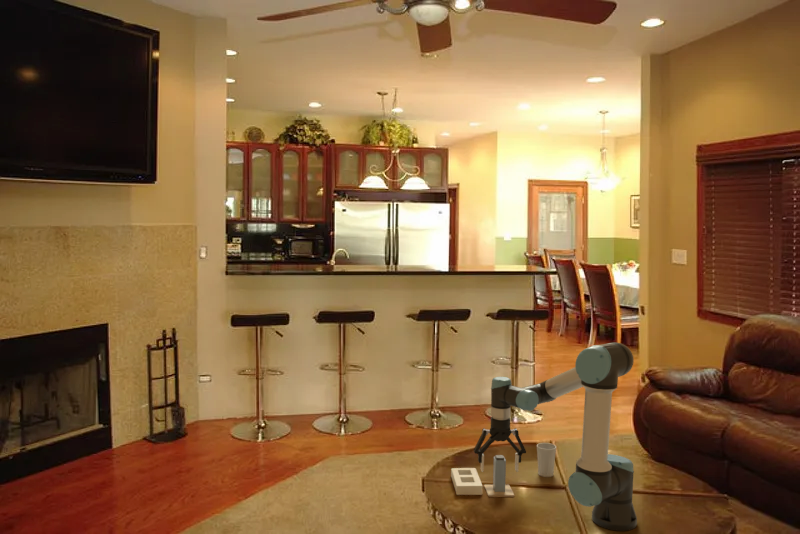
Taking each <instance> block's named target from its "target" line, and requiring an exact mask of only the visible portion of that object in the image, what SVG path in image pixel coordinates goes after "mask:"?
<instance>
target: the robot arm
mask: <svg viewBox="0 0 800 534" xmlns="http://www.w3.org/2000/svg"><path fill="white" fill-rule="evenodd" d="M634 361H635V359H634V355H633V352H632V351H631V349H630V348H629V347H628V346H627V345H625V344H623V343H621V342H609V343H604V344H597V345H596V344H595V345H591V346H588V347H587V348H584V349H583V350H581V351H580V352H579V354H578V355H577V357H576V360H575V365H574V366H575V367H572V368H571V369H568V370H566V371H563V372H561V373H559V374H556V375H555V376H552V377H550V378H549V379H546V380H544V381H541V382H539V383H536V384H531V385H527V386H524V387H520V386H516V385H512V384H513V383H512V379H511V378H509V377H506V376H496V377H493V378H492V379H491V387H490V389H491V390H490V393H491V394H490V395H491V397H490V398H491V400H490V401H491V403H490V416H491V417H490V428H489V429H486V428H482V430H481V434H480V437H479V439H478V440H477V442H476V444H475V447H474V448H473V452H474V454H475V455H476V454H477V455H478V457H477V461H478V463H479V464H480V471H481V473H484V472H485V471H484V470H485V454H484V453H485V452H486V451H487V450H488V448H489V447H490V446H491V445H492V444H493V443H495V442H505V441H507V442H508V443H509V445H511V447H512V448H513V450H515V453H514V455H515V456H514V458H515V459H514V469H515V472H517V473H518V472H519V466H520V465H519V463H520V464H521V463H522V456H523V454H526V453H527V450H526V447H525V446H524V444H523V442H522V439H521V437H520V436H519V435H520V434H519V430H518V429H517V428H513V429H511V407H514V408H517V409H519V410H522V411H529V412H532V411H534V410H535V409H536V408H537V407H538V405H542V404H545V403H550V402H553V401H554V400H556V399H557V398H560V397H562V396H564V395H567V394H569V393H572V392H574V391H577V390H579V389H582V388H583V389H585V390H584V406H583V419H582V420H583V421H582V422H583V423H582V436H581V437H582V438H581V451H580V452H581V453H580V457H579V458H577V460H576V462H575V472H574V471H573V473H572V474H570V476H569V478H568V480H567V481H568V482H567V485H568V491H569V493H570V494H571V496H572V497H573V498H574V500H575V501H576V502H577V503H578V504H580V505H581V506H584V507H590V508H591V507H593V509H592V511H591V519H592V521H593V523H594V524H596V525H597V526H600V527H601V528H604V529H607V530H612V531H617V532H626V531H631V530H634V529H635V528H637V525H638V518H637V517H638V516H637V514H636V510H635V507H634V504H633V496H634V495H633V493H634V492H633V489H634V474H635V471H634V462H633V461H632V460H631V459H630V458H627V457H624V456H621V455H616V454H610V453H609V445H610V444H609V443H610V429H611V418H612V417H611V414H612V413H611V412H612V400H613V399H612V398H613V392H614V391H616V390H617V389H618V381H619V377H620V378H621V377H622V376H625V375H627V374H628V373H629V372H630V371H631V370H632V369H633V366H634V363H635V362H634ZM511 434H513V436H515V439H516V441H517V443H518V445H519V447H520V449H519V447H518V446H517V445H516V444H515V442H514V441H513V440H512V438H510V436H511ZM488 435H490V436H489V437H488V439H487V440H486V441H485V439H486V438H487V437H486V436H488ZM484 441H485V442H484ZM483 443H484V444H483Z"/></svg>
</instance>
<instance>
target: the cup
mask: <svg viewBox="0 0 800 534" xmlns="http://www.w3.org/2000/svg"><path fill="white" fill-rule="evenodd" d="M556 452H557V445H555V444H553V443H549V442H539V443H538V444H536V455H537V458H536V459H537V474H538V476H541V477H544V478H551V477H553V476H554V471H555V461H556Z"/></svg>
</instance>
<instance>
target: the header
mask: <svg viewBox="0 0 800 534" xmlns="http://www.w3.org/2000/svg"><path fill="white" fill-rule="evenodd" d="M450 470H451V471H450V472H451V473H450V475H451V476H450V477H451V480H452V485H453V487H454V490H455V494H456V495H457V496H460V495H461V496H463V495H465V496H468V495H469V496H472V495H473V496H476V495H477V496H478V495H480V496H482V495H483V492H484V491H483V488H484V487H483V486H484V484H482V481H481V478H480V476H479V473H478V470H477V468H475V467H461V468H460V467H458V468H457V467H456V468H455V467H454V468H453V467H452V468H451V469H450Z"/></svg>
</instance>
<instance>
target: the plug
mask: <svg viewBox="0 0 800 534" xmlns="http://www.w3.org/2000/svg"><path fill="white" fill-rule="evenodd" d="M506 466H507V460H506V457H505V456H504V455H503V454H495V455H494V456H493V475H492V476H493V477H492V482H493V483H492V485H493V489H494V491H495V492H505V485H506V479H507V478H506V477H507V476H506V470H507V469H506V468H507V467H506Z"/></svg>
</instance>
